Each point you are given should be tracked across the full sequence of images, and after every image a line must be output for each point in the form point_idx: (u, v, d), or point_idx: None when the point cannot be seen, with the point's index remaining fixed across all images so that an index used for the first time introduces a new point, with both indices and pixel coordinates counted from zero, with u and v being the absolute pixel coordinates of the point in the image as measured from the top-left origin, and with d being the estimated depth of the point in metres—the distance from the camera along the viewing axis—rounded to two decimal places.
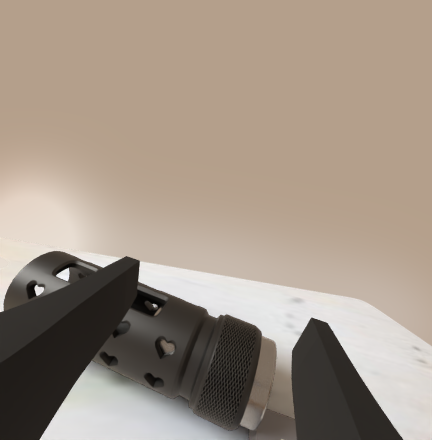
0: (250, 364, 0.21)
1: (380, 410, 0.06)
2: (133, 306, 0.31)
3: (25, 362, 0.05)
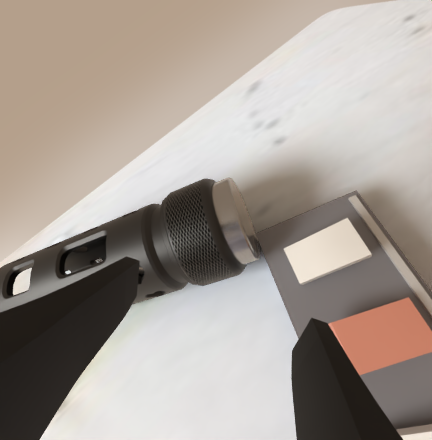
0: (210, 230, 0.18)
1: (380, 410, 0.06)
2: (105, 246, 0.28)
3: (25, 362, 0.05)
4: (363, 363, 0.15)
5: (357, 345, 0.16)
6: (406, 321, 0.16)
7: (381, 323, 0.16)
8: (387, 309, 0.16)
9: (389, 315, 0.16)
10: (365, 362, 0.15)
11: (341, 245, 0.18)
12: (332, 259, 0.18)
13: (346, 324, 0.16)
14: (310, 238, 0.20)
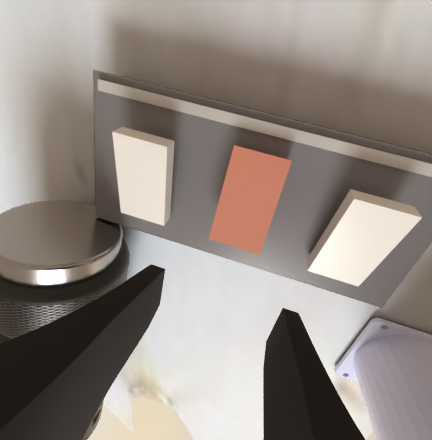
0: (39, 305, 0.14)
1: (337, 395, 0.06)
2: None
3: (69, 380, 0.05)
4: (255, 241, 0.14)
5: (239, 233, 0.14)
6: (251, 171, 0.13)
7: (237, 195, 0.13)
8: (230, 177, 0.13)
9: (236, 180, 0.13)
10: (255, 239, 0.14)
11: (143, 164, 0.14)
12: (154, 183, 0.14)
13: (218, 227, 0.14)
14: (120, 183, 0.15)
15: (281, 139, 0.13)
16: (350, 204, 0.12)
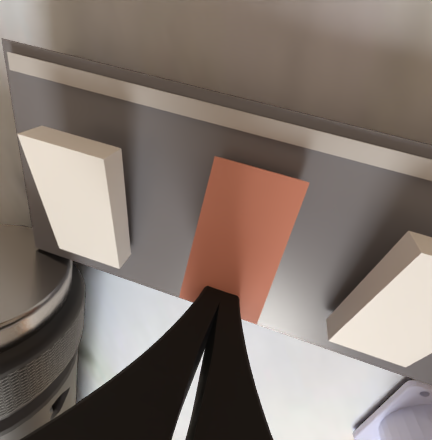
0: None
1: (248, 362, 0.06)
2: None
3: (175, 422, 0.05)
4: (249, 304, 0.09)
5: (225, 291, 0.09)
6: (242, 198, 0.08)
7: (221, 235, 0.09)
8: (210, 207, 0.08)
9: (218, 212, 0.08)
10: (250, 301, 0.09)
11: (74, 185, 0.09)
12: (95, 213, 0.09)
13: (193, 280, 0.09)
14: (49, 210, 0.10)
15: (291, 145, 0.08)
16: (412, 261, 0.07)
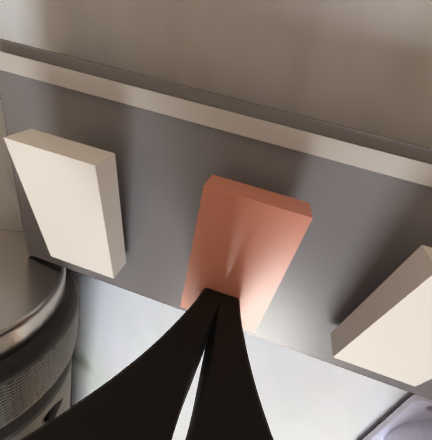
0: None
1: (248, 362, 0.06)
2: None
3: (175, 422, 0.05)
4: (247, 318, 0.09)
5: None
6: (236, 229, 0.07)
7: (217, 260, 0.08)
8: (203, 235, 0.08)
9: (212, 240, 0.08)
10: (248, 316, 0.09)
11: (64, 192, 0.08)
12: (87, 221, 0.09)
13: (192, 295, 0.09)
14: (39, 217, 0.09)
15: (296, 151, 0.08)
16: (427, 278, 0.06)
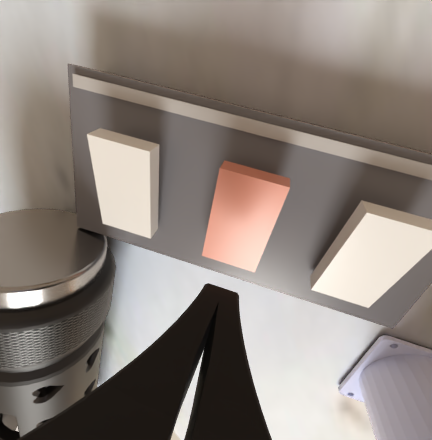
0: (6, 332, 0.12)
1: None
2: None
3: (174, 421, 0.05)
4: (249, 261, 0.13)
5: (233, 253, 0.13)
6: (241, 196, 0.11)
7: (228, 219, 0.12)
8: (218, 201, 0.12)
9: (225, 205, 0.12)
10: (249, 259, 0.13)
11: (124, 171, 0.12)
12: (137, 193, 0.13)
13: (210, 246, 0.13)
14: (100, 192, 0.13)
15: (281, 142, 0.12)
16: (362, 219, 0.10)
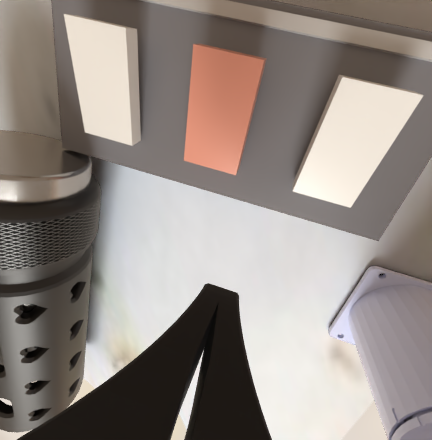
0: None
1: (247, 362, 0.06)
2: None
3: (174, 421, 0.05)
4: (230, 161, 0.13)
5: (213, 153, 0.13)
6: (217, 79, 0.11)
7: (206, 110, 0.12)
8: (195, 88, 0.12)
9: (201, 92, 0.12)
10: (230, 159, 0.13)
11: (102, 58, 0.12)
12: (116, 85, 0.12)
13: (191, 147, 0.13)
14: (80, 90, 0.13)
15: (260, 28, 0.12)
16: (338, 86, 0.10)
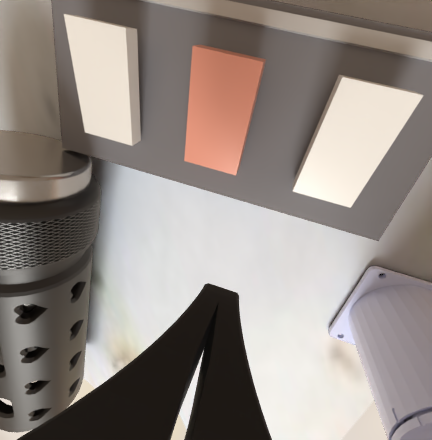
0: None
1: (247, 362, 0.06)
2: None
3: (174, 421, 0.05)
4: (230, 162, 0.13)
5: (213, 154, 0.13)
6: (216, 81, 0.11)
7: (205, 111, 0.12)
8: (195, 90, 0.12)
9: (201, 94, 0.12)
10: (230, 159, 0.13)
11: (102, 58, 0.12)
12: (116, 85, 0.12)
13: (191, 148, 0.13)
14: (80, 90, 0.13)
15: (260, 28, 0.12)
16: (338, 86, 0.10)
